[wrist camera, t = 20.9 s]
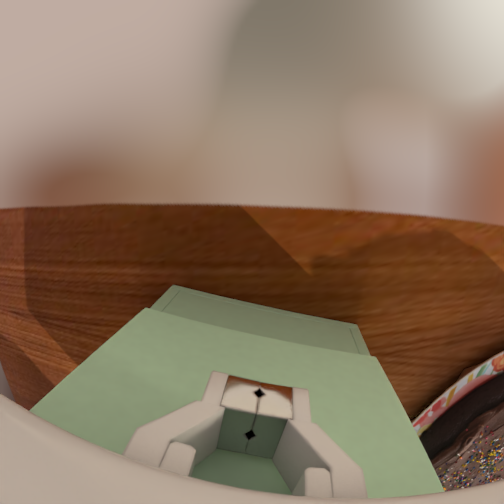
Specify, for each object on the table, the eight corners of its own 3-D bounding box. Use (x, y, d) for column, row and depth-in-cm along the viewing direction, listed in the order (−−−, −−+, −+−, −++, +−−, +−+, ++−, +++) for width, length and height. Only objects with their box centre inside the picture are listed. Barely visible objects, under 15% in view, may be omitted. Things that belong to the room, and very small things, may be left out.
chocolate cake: (594, 338, 20) (623, 360, 14) (493, 493, 27) (506, 521, 21) (445, 317, 21) (485, 359, 15) (333, 513, 28) (336, 555, 22)
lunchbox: (296, 466, 26) (296, 503, 22) (160, 437, 27) (144, 470, 22) (357, 323, 22) (372, 358, 18) (173, 283, 23) (147, 309, 18)
